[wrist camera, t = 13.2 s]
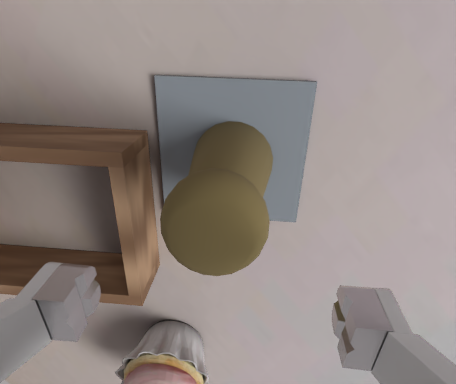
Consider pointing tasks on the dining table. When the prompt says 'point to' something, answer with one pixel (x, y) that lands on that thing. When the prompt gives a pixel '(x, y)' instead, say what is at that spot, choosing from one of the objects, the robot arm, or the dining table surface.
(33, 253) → the frame
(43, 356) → the dining table surface
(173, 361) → the cupcake
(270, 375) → the dining table surface
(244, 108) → the felt pad
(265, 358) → the dining table surface
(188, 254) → the olive piece
